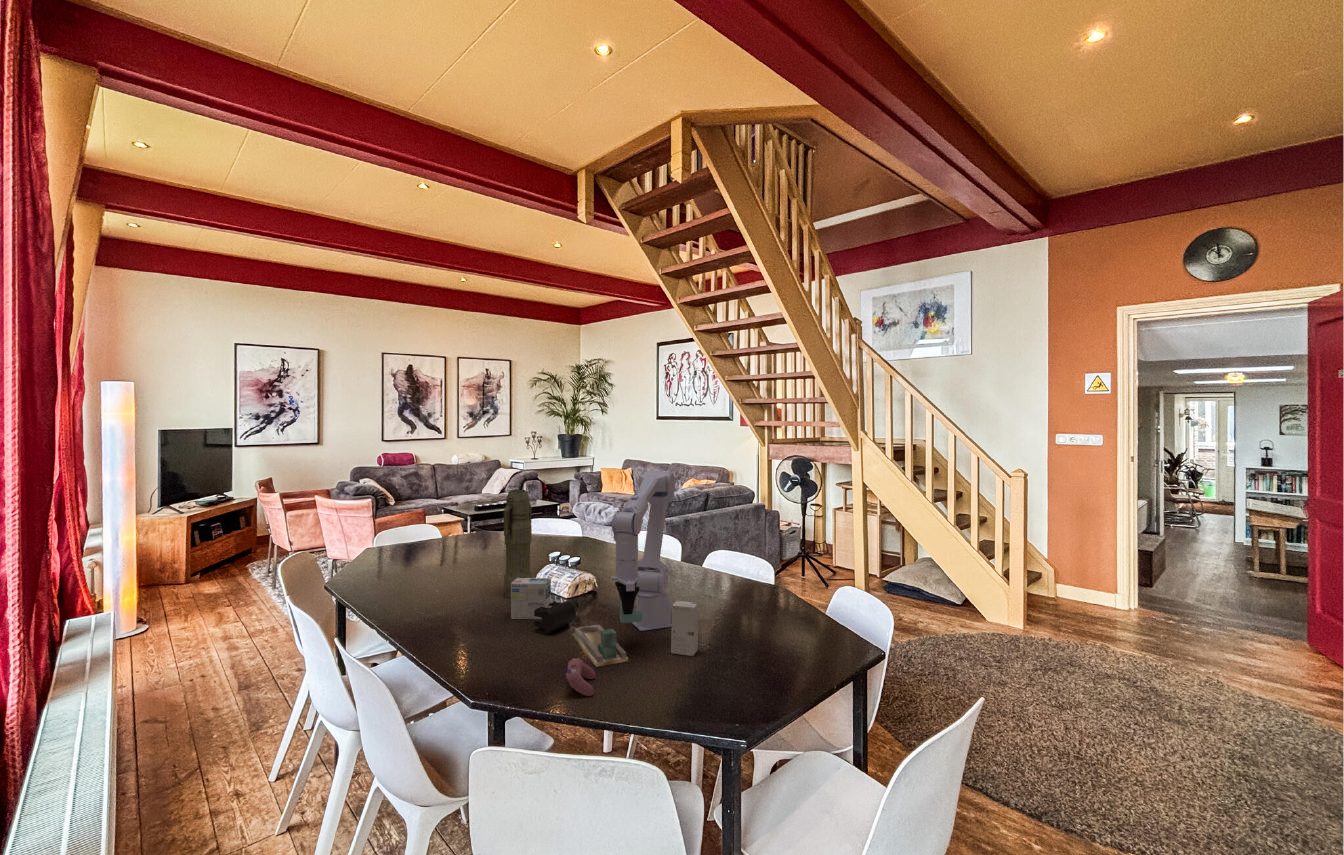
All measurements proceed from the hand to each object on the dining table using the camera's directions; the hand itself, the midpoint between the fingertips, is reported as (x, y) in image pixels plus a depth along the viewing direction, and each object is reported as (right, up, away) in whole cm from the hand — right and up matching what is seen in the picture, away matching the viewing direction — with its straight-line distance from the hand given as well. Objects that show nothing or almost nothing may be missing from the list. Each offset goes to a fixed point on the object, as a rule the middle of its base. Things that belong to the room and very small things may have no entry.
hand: (627, 611), depth 153 cm
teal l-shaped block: (+1, -2, 0) cm, 3 cm away
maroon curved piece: (-8, -9, -24) cm, 27 cm away
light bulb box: (-30, -9, +25) cm, 40 cm away
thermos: (-40, -9, +47) cm, 62 cm away
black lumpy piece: (-21, -9, +13) cm, 27 cm away
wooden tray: (-7, -9, -1) cm, 11 cm away
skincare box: (+15, -9, -4) cm, 18 cm away
